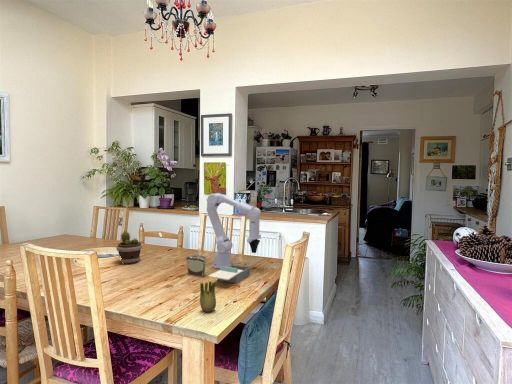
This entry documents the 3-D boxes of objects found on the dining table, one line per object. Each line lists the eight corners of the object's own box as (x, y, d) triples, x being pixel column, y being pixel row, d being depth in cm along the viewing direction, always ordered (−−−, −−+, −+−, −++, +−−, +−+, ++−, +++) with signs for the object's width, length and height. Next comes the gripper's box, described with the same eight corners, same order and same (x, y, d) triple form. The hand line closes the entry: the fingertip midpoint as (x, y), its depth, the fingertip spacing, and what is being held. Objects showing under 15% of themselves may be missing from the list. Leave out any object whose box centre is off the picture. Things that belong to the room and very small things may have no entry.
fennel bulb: (198, 311, 128) (198, 282, 127) (204, 307, 133) (205, 278, 132) (211, 314, 126) (211, 284, 125) (217, 309, 131) (217, 280, 130)
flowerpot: (147, 261, 200) (147, 229, 199) (126, 267, 187) (125, 233, 186) (132, 257, 207) (132, 227, 206) (110, 263, 195) (110, 230, 193)
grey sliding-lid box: (217, 280, 166) (217, 272, 166) (232, 272, 180) (232, 264, 180) (236, 283, 161) (236, 275, 161) (250, 275, 176) (250, 267, 176)
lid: (208, 276, 158) (208, 271, 158) (224, 268, 172) (224, 263, 172) (228, 280, 153) (228, 274, 153) (243, 271, 168) (243, 266, 168)
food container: (211, 274, 176) (211, 256, 175) (204, 277, 170) (204, 259, 169) (192, 271, 181) (192, 253, 180) (185, 274, 175) (185, 256, 175)
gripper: (255, 231, 174) (255, 256, 175) (265, 227, 187) (265, 250, 188) (243, 230, 177) (243, 254, 178) (254, 226, 190) (254, 249, 191)
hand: (253, 252), depth 183 cm, fingers closed
